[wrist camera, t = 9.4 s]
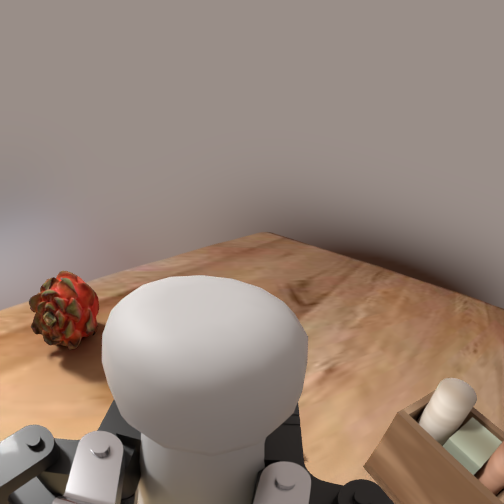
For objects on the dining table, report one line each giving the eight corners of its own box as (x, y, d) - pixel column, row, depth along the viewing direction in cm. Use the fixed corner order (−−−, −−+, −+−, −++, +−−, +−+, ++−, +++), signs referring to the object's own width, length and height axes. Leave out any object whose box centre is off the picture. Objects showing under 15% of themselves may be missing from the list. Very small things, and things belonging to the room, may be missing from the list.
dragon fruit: (70, 383, 26) (68, 334, 36) (123, 332, 28) (109, 294, 38) (10, 329, 22) (25, 291, 32) (64, 271, 24) (67, 247, 34)
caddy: (410, 438, 21) (456, 362, 18) (482, 507, 12) (552, 437, 9) (363, 466, 19) (410, 389, 16) (439, 551, 10) (524, 490, 7)
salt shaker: (267, 491, 13) (329, 265, 9) (265, 581, 7) (408, 420, 3) (157, 476, 13) (127, 242, 9) (134, 562, 7) (-8, 354, 3)
